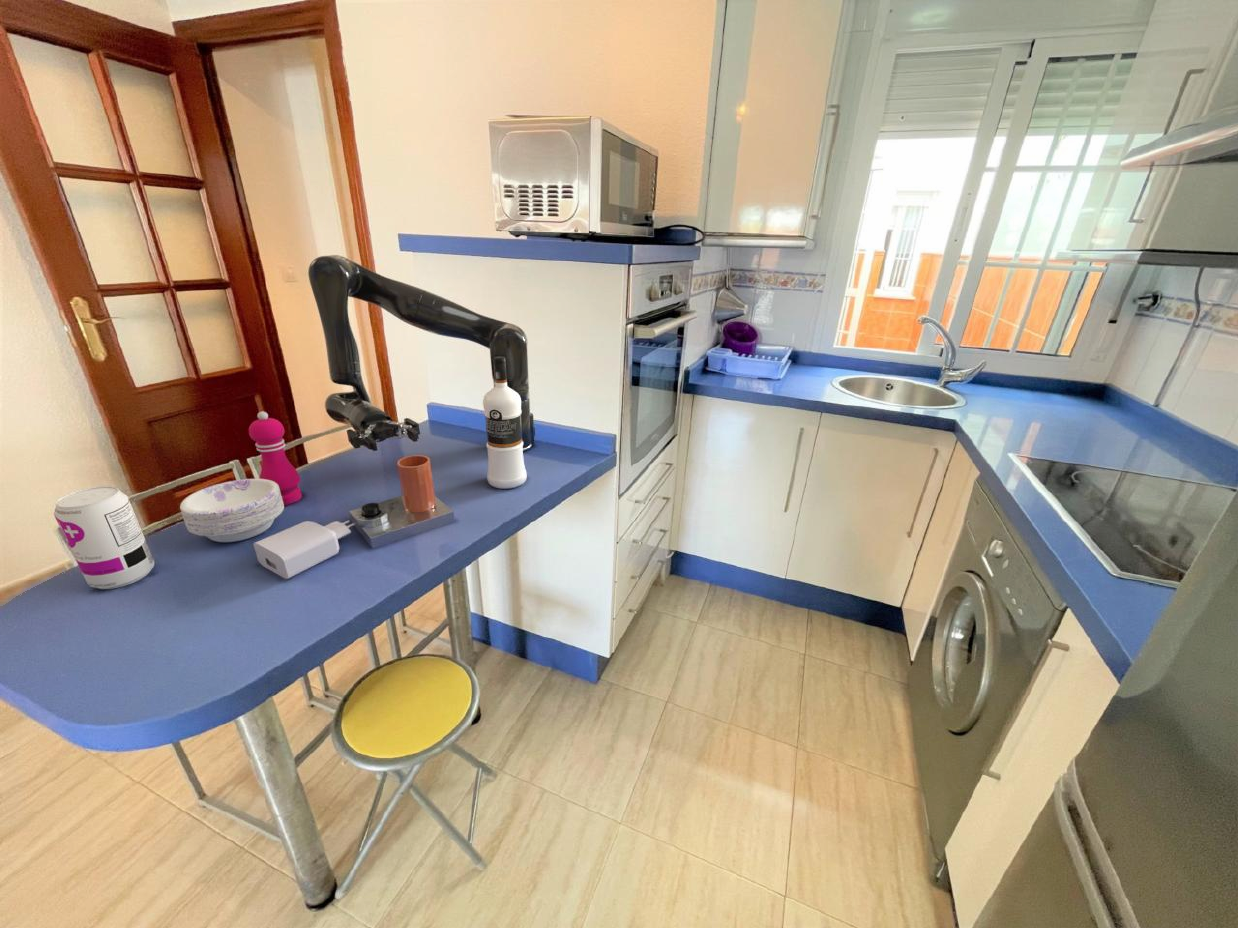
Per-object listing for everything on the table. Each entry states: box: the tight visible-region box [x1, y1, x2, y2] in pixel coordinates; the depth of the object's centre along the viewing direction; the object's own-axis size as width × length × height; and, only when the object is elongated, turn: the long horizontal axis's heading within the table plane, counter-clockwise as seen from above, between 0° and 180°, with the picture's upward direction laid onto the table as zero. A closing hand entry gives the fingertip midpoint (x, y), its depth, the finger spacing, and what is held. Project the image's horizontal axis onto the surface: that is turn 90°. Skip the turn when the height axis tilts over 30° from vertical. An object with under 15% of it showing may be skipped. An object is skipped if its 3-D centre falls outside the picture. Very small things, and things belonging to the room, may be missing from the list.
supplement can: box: [53, 485, 155, 590], centre depth 80 cm, size 8×8×15 cm
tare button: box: [361, 502, 380, 518], centre depth 97 cm, size 3×3×2 cm
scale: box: [348, 495, 455, 550], centre depth 101 cm, size 16×13×4 cm
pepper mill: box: [248, 411, 303, 506], centre depth 105 cm, size 7×7×20 cm
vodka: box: [482, 357, 528, 490], centre depth 114 cm, size 9×9×30 cm
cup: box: [396, 454, 436, 512], centre depth 102 cm, size 6×6×10 cm
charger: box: [252, 520, 355, 580], centre depth 91 cm, size 5×9×15 cm
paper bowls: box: [179, 478, 285, 543], centre depth 96 cm, size 15×15×8 cm
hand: (395, 441), depth 107 cm, fingers open, 8 cm apart
